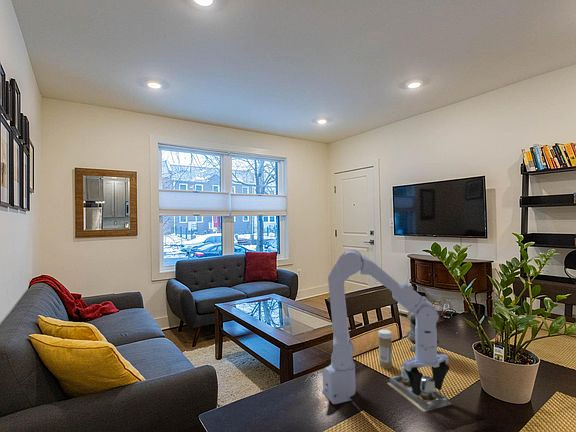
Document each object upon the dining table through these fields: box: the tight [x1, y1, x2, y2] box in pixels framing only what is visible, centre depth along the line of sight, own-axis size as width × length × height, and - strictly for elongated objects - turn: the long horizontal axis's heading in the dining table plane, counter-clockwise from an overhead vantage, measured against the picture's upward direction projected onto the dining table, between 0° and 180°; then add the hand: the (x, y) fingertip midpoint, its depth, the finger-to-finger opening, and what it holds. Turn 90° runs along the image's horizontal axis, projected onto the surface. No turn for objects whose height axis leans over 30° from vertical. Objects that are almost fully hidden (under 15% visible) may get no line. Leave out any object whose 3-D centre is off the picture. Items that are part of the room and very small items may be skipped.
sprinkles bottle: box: [377, 329, 393, 370], centre depth 113 cm, size 5×5×13 cm
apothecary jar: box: [406, 311, 441, 353], centre depth 127 cm, size 12×12×18 cm
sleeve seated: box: [400, 363, 412, 388], centre depth 99 cm, size 5×5×6 cm
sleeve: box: [419, 375, 436, 403], centre depth 91 cm, size 5×5×6 cm
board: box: [386, 374, 452, 412], centre depth 95 cm, size 10×16×3 cm, turn 19°
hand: (427, 390), depth 91 cm, fingers open, 7 cm apart
